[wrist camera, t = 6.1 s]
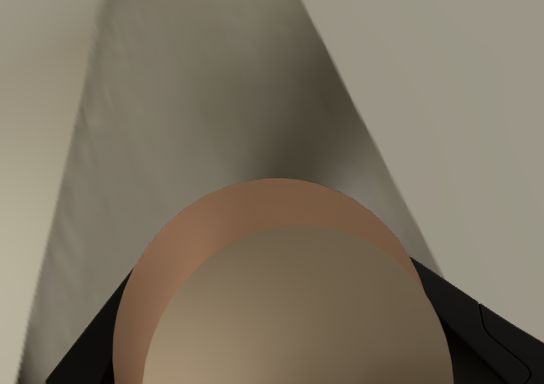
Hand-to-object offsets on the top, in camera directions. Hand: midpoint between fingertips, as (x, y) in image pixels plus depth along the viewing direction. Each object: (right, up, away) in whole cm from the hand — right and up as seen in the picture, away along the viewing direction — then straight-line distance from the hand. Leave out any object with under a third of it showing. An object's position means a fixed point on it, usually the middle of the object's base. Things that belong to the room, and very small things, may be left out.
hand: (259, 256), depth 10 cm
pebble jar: (-1, -2, +6) cm, 7 cm away
